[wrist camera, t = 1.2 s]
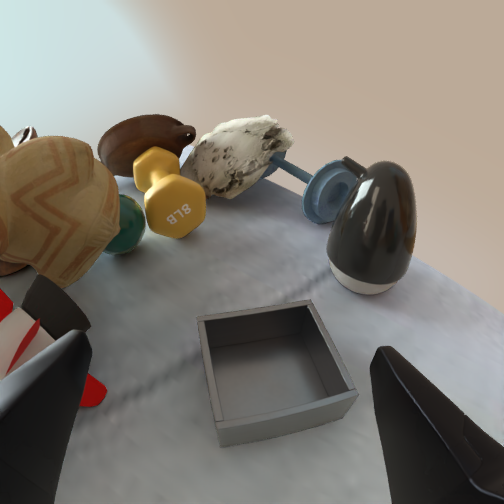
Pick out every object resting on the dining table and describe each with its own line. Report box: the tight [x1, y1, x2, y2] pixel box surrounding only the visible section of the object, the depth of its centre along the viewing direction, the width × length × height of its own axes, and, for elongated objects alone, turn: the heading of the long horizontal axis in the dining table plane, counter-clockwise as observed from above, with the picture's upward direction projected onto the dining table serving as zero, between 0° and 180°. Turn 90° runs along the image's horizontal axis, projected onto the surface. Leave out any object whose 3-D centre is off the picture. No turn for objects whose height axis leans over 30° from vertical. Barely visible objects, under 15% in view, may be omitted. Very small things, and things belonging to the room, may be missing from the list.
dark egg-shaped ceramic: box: [326, 156, 417, 295], centre depth 32 cm, size 10×10×15 cm
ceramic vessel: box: [0, 126, 120, 288], centre depth 22 cm, size 17×20×25 cm
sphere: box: [103, 194, 146, 255], centre depth 37 cm, size 8×8×8 cm
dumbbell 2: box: [260, 150, 357, 224], centre depth 50 cm, size 23×11×10 cm, turn 30°
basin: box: [196, 299, 359, 448], centre depth 23 cm, size 10×10×4 cm
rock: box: [180, 115, 294, 199], centre depth 52 cm, size 25×4×20 cm
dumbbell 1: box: [133, 147, 206, 239], centre depth 45 cm, size 19×9×8 cm, turn 27°
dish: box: [98, 114, 196, 177], centre depth 54 cm, size 18×22×5 cm
